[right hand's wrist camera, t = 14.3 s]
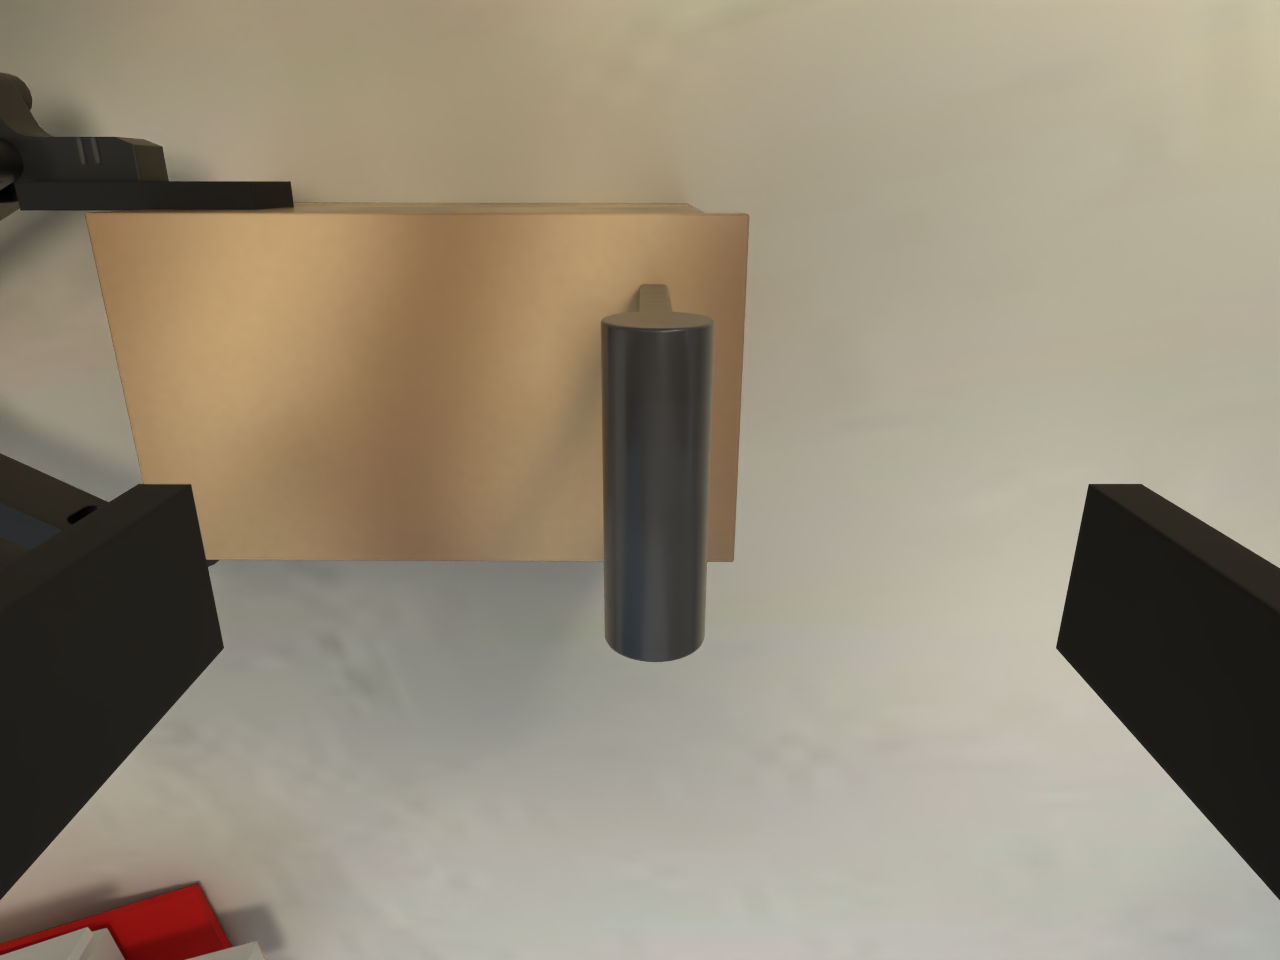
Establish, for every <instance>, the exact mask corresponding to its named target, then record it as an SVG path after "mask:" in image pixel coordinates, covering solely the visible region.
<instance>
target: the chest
mask: <svg viewBox="0 0 1280 960" xmlns="http://www.w3.org/2000/svg"><path fill="white" fill-rule="evenodd" d="M293 204H294V207H285V208H271V209H257V210H175V209H145V210H127V211H110V212H436V213H704V212H702V211H701V210H699V209H697V208H695V207H693V206H691V205H689V204H613V203H293Z"/></svg>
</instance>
